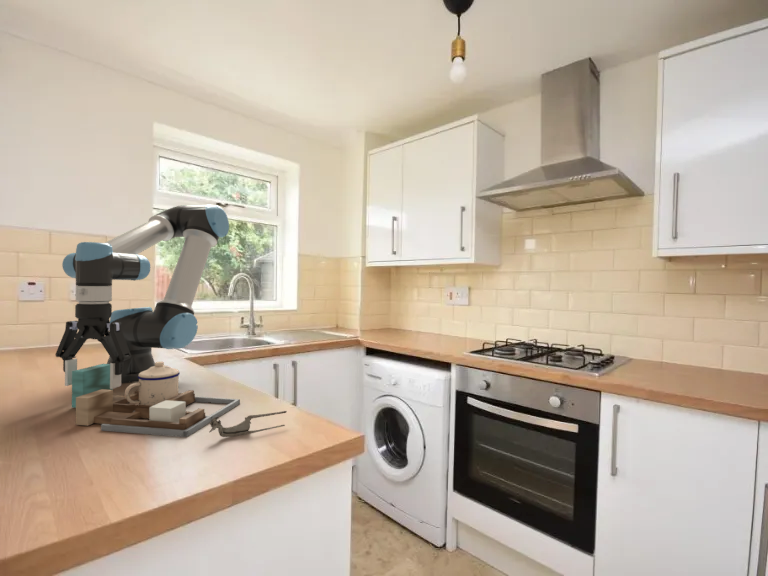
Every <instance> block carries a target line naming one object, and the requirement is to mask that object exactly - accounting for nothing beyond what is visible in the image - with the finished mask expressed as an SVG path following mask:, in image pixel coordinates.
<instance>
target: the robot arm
mask: <svg viewBox="0 0 768 576" xmlns="http://www.w3.org/2000/svg"><path fill="white" fill-rule="evenodd" d="M229 230H230V222H229V218H228V215H227V213H226V211H225V210H224V209H223V207H221V206H219V205H215V204H202V205H200V204H195V205H194V204H191V205H190V204H188V205H186V204H185V205H176V206H173V207H170V208H168V209H165V210H163V211H161V212H159V213H156V214H154V215H152V216H151V217H150V218H149V219H148V220H147V222H144V223H142V224H140V225H138V226H137V227H136V226H135V227H134V228H132V229H130V230H128V231H126V232H123V233H122V234H120V235H118V236H116V237H114V238H112V239H110V240H108V241H105V242H95V241H94V242H93V241H81V242H78V244H76V248H75V252H72V253H69V254H67V255H65V257H64V258H63V260H62V264H61V265H62V266H61V267H62V269H63V272H64V273H65V275H66V276H69V277H70V278H72V279H75V301H76V302H78V303H76V304H75V305H74V306H75V307H74V309H75V310H74V311H75V312H74V313H75V315H74V317H75V318H76V319H77V320H69V321H66V322H65V329H64V332H63V335H62V338H61V339H60V342H59V345H58V347H57V349H56V352H55V357H56V358H61V359H62V361H63V362H62V363H63V364H62V365H63V368H62V370H63V372H64V386H65V387H68V386H72V371H75V370H78V358H77V354H78V353H79V351H80V349H82V347H83V346H84V344H85V343H86V342H87V340H90V339H91V340H97V341H98V342H99V343H101V345H102V347H103V348H104V350H105V351H106V352H107V354H108V355H109V356H108V359H107V363H106V364H110V389H113V390H115V389H117V388H119V387H122V384H133V383H139V378H138V375H139V373H140V372H142V371H145V370H148V369H149V368H151V367H153V366H155V363H156V361H155V359H154V356H153V353H152V349H153V348H154V349H166V350H179V349H183V348H186V347H187V346H189V345H190V344H191V343H192V341H194V339H195V337H196V336H197V332H198V319H197V318H196V316H195V310H194V309H193V308H192V307H193V302H194V300H195V297H196V293H197V291H198V288H199V285H200V281H201V279H202V276H203V272H204V269H205V266H206V264H207V261H208V259H209V255H210V253H211V252H210V251H211V248H213V247H216V246H217V244H218V242H219V238H224V237H226V236H227V235H228V233H229ZM182 237H183V238H184V239H185V240H184V243H183V245H182V249H181V251H180V254H179V256H178V260H177V262H176V265H175V268H174V271H173V274H172V276H171V278H170V281H169V284H168V287H167V290H166V292H165V294H164V298H163V300H160V301H157V302H156V303H155V304H156V305H155V307H154V310H153V308H152V307H151V306H145V307H134V308H124V309H116V310H114V311H112V310H113V309H112V308H113V304H111V302H112V300H113V281H114V280H115V281H116V280H117V281H119V280H120V281H138V280H139V281H141V280H144V279H145V278H147V277H148V276H149V275H150V273H151V262H150V261H149V259H148V258H147V257H146V256H144V255H141V253H142V252H144V251H146V250H147V249H150V248H152V247H153V246H155V245H156V244H158V243H161V242H166V241H170V240H171V239H175V238H182Z"/></svg>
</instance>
